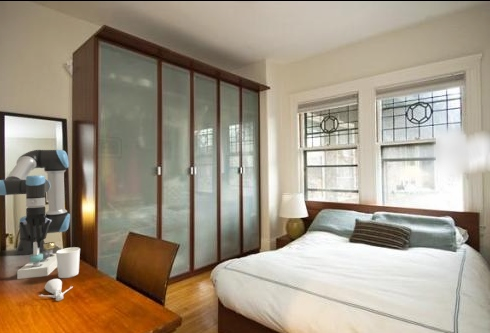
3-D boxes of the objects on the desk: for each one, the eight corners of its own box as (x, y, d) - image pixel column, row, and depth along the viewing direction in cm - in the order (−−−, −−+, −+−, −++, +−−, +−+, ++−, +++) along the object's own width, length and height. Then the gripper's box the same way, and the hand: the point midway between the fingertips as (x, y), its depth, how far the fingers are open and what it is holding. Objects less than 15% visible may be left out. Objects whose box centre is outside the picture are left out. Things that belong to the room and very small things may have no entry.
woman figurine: (68, 273, 122) (77, 288, 109) (68, 283, 122) (77, 299, 109) (35, 281, 114) (41, 298, 101) (35, 291, 114) (41, 310, 101)
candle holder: (85, 271, 136) (84, 247, 136) (70, 279, 127) (70, 253, 127) (66, 271, 137) (66, 247, 137) (51, 278, 128) (50, 253, 128)
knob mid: (39, 264, 143) (39, 251, 144) (51, 263, 145) (51, 250, 145) (35, 268, 138) (35, 254, 139) (47, 266, 140) (47, 253, 140)
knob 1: (32, 267, 136) (32, 254, 136) (45, 266, 137) (44, 253, 137) (27, 271, 131) (27, 257, 131) (40, 270, 132) (40, 256, 132)
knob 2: (46, 255, 151) (45, 242, 151) (56, 253, 153) (56, 241, 153) (42, 257, 146) (41, 245, 146) (53, 256, 148) (53, 244, 148)
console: (40, 262, 152) (40, 255, 152) (65, 259, 155) (64, 252, 155) (17, 279, 128) (17, 270, 128) (47, 275, 131) (47, 267, 132)
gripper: (16, 208, 129) (16, 258, 129) (48, 206, 133) (48, 255, 132) (23, 206, 136) (24, 254, 136) (54, 205, 140) (54, 251, 140)
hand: (36, 254), depth 134 cm, fingers closed
